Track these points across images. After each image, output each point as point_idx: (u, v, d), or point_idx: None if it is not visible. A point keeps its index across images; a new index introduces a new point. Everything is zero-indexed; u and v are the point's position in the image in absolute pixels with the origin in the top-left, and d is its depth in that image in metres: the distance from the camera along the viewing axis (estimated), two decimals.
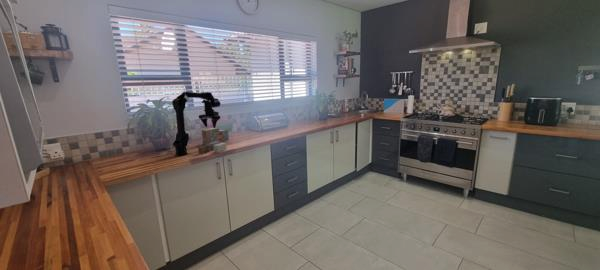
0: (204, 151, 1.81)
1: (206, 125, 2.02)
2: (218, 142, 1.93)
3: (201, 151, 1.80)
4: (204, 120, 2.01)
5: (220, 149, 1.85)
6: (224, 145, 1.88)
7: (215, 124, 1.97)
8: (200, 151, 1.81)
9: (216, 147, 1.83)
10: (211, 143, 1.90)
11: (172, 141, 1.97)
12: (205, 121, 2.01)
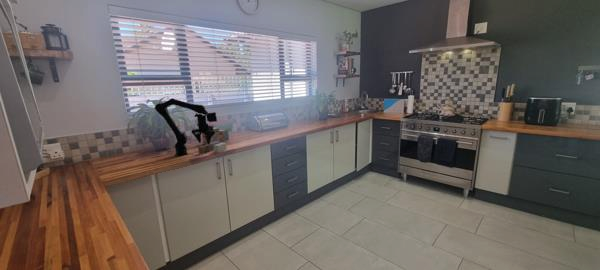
0: (204, 151, 1.81)
1: (200, 141, 1.85)
2: (218, 142, 1.93)
3: (201, 151, 1.80)
4: (197, 135, 1.83)
5: (220, 149, 1.85)
6: (224, 145, 1.88)
7: (209, 140, 1.80)
8: (200, 151, 1.81)
9: (216, 147, 1.83)
10: (211, 143, 1.90)
11: (172, 141, 1.97)
12: (198, 136, 1.84)
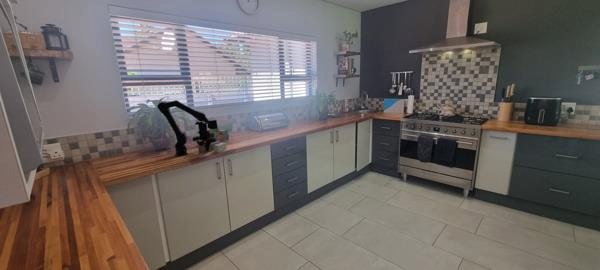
0: (204, 151, 1.81)
1: None
2: (218, 142, 1.93)
3: (201, 151, 1.80)
4: (200, 143, 1.83)
5: (220, 149, 1.85)
6: (224, 145, 1.88)
7: (208, 147, 1.82)
8: (200, 151, 1.81)
9: (216, 147, 1.83)
10: (211, 143, 1.90)
11: (172, 141, 1.97)
12: (201, 144, 1.84)
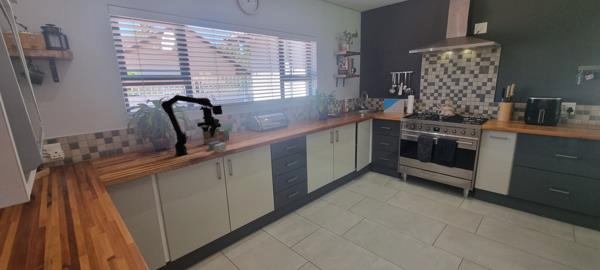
0: (209, 136, 1.80)
1: None
2: (218, 142, 1.93)
3: (206, 136, 1.79)
4: (205, 129, 1.83)
5: (220, 149, 1.85)
6: (224, 145, 1.88)
7: (213, 132, 1.81)
8: (205, 136, 1.80)
9: (216, 147, 1.83)
10: (211, 143, 1.90)
11: (172, 141, 1.97)
12: (206, 130, 1.83)
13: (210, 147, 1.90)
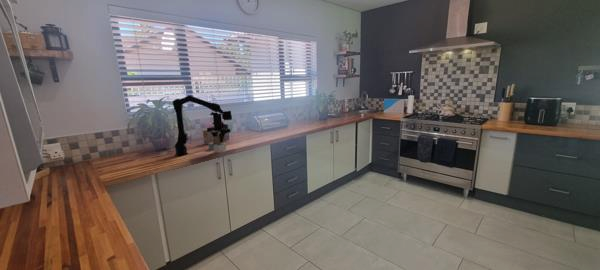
0: (219, 141, 1.83)
1: None
2: None
3: (216, 141, 1.82)
4: (215, 134, 1.86)
5: (221, 149, 1.85)
6: (224, 145, 1.88)
7: (222, 138, 1.84)
8: (215, 141, 1.83)
9: (217, 147, 1.83)
10: (210, 143, 1.90)
11: (172, 141, 1.97)
12: (216, 135, 1.86)
13: (210, 147, 1.90)
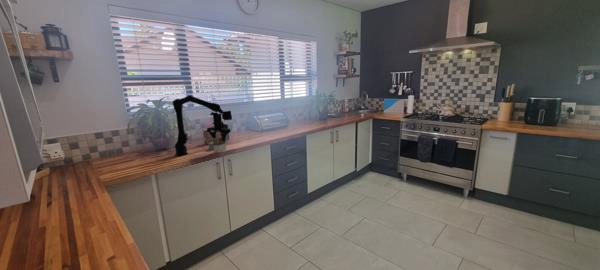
0: (219, 143, 1.83)
1: None
2: None
3: (216, 143, 1.83)
4: (213, 133, 1.87)
5: (221, 149, 1.85)
6: (224, 145, 1.88)
7: (224, 138, 1.83)
8: (215, 143, 1.83)
9: (217, 147, 1.83)
10: (210, 143, 1.90)
11: (172, 141, 1.97)
12: (214, 134, 1.87)
13: (210, 147, 1.90)
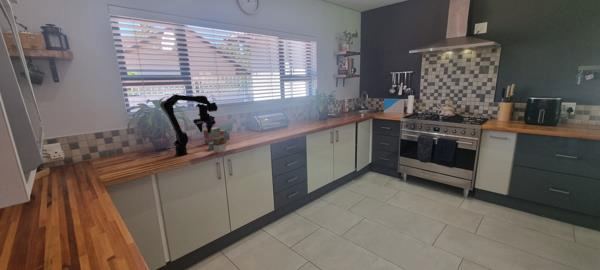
0: (219, 143, 1.83)
1: (201, 130, 1.92)
2: None
3: (216, 143, 1.83)
4: (199, 125, 1.91)
5: (220, 149, 1.85)
6: (224, 145, 1.88)
7: (210, 129, 1.87)
8: (215, 143, 1.83)
9: (217, 147, 1.83)
10: (210, 143, 1.90)
11: (172, 141, 1.97)
12: (200, 126, 1.92)
13: (210, 147, 1.90)
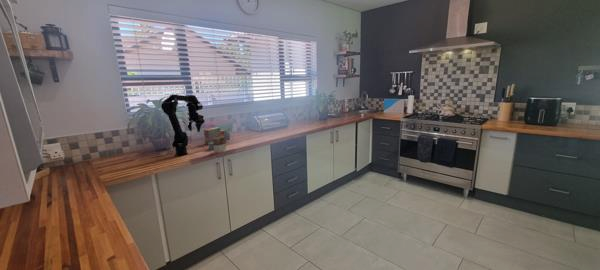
0: (219, 143, 1.83)
1: (190, 129, 1.97)
2: None
3: (216, 143, 1.83)
4: None
5: (220, 149, 1.85)
6: (224, 145, 1.88)
7: (199, 128, 1.92)
8: (215, 143, 1.83)
9: (217, 147, 1.83)
10: (210, 143, 1.90)
11: (172, 141, 1.97)
12: (189, 125, 1.96)
13: (209, 147, 1.90)
